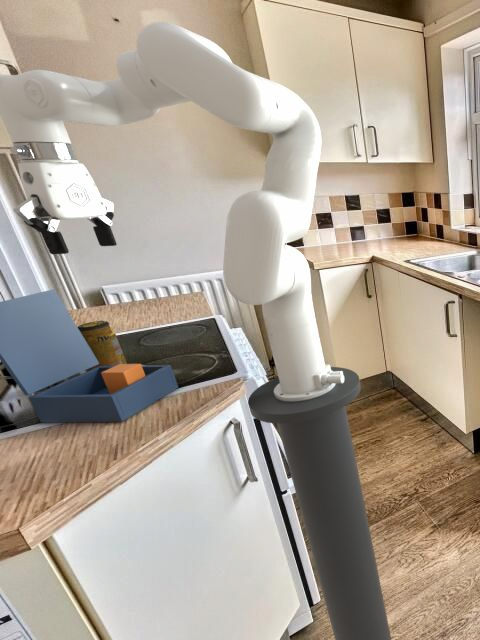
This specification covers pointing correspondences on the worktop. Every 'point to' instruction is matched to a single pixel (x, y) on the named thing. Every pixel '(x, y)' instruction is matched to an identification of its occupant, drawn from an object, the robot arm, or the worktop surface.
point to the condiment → (102, 343)
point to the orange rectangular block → (122, 376)
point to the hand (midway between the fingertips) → (85, 249)
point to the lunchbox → (102, 396)
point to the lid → (41, 341)
